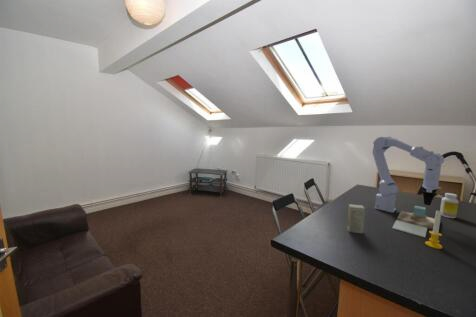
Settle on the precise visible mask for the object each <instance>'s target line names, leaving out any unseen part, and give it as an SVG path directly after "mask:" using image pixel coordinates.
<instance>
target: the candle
mask: <svg viewBox="0 0 476 317" xmlns="http://www.w3.org/2000/svg"><path fill="white" fill-rule="evenodd" d="M434 215H435V216H434V219H435V220H434V227H433V229H432V230H429V231H428V232H429V233H430V237H429V239H428V240H427V241H425V242H424V244H425V245H426V246H427V247H430V248H433V249H436V250H442V249H443V246H442V244H440V240H439V238H440V237H441V236H443V234H442V233H440V232H439V230H440V224H441V218H442V216H441V211H440V210H435V214H434Z"/></svg>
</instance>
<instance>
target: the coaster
mask: <svg viewBox="0 0 476 317" xmlns="http://www.w3.org/2000/svg"><path fill="white" fill-rule="evenodd" d="M391 229H392V230H395V231H399V232H403V233H406V234H410V235H414V236H417V237H421V238H424V239H425V238H426V237H427V231H428V228H426V227H422V226H418V225H414V224H410V223H407V222H403V221H399V220H397V219H396V220H395V221H394V224H393V226H392V228H391Z"/></svg>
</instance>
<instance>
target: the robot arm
mask: <svg viewBox="0 0 476 317" xmlns="http://www.w3.org/2000/svg"><path fill="white" fill-rule="evenodd" d="M391 147H395V148H397V149H400V150H403V151H405V152H408V153H409V155H410V156H411V157H412V158H416V159H417V160H419V161H421V162H424V164H425V168H424V175H423V181H422V185H421V186H422V189H421V193H422V196H423V204H424V205H427V206H431V204H432V202H433V199H434V198H435V197H436V195H437V194H438V193H437V192H438V189H439V190H441V189H442V186H439V182H440V176H441V171H442V170H441V168H442V164H443V163H444V162H445V158H444V156H443V155H442V154H441V153H434V151H430V150H428V149H425V147H424V146H412V145H409V144H408V143H406V142H404V141H401V140H399V139H397V138H395V137H392V136H377V137H376V138H375V140H374V141H373V148H372V156H373V159H374V162H375V165H376V170H377V172H378V176H379V179H380V181H379V183H378V185H379V187H378V191H379V193H376V195H375V202H374V204H375V205H374V209H375V210H379V211H384V212H388V213H392V214H394V213H395V211H396V210H397V209H396V208H395V204H396V197H397V194H398V192H399V191H400V188H399V186H398V185H397V184H396V181H394V179H393V178H392V176H391V173H390V170H389V167H388V163H387V159H386V156H385V152H386V151H387V150H388V149H390V148H391Z"/></svg>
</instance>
